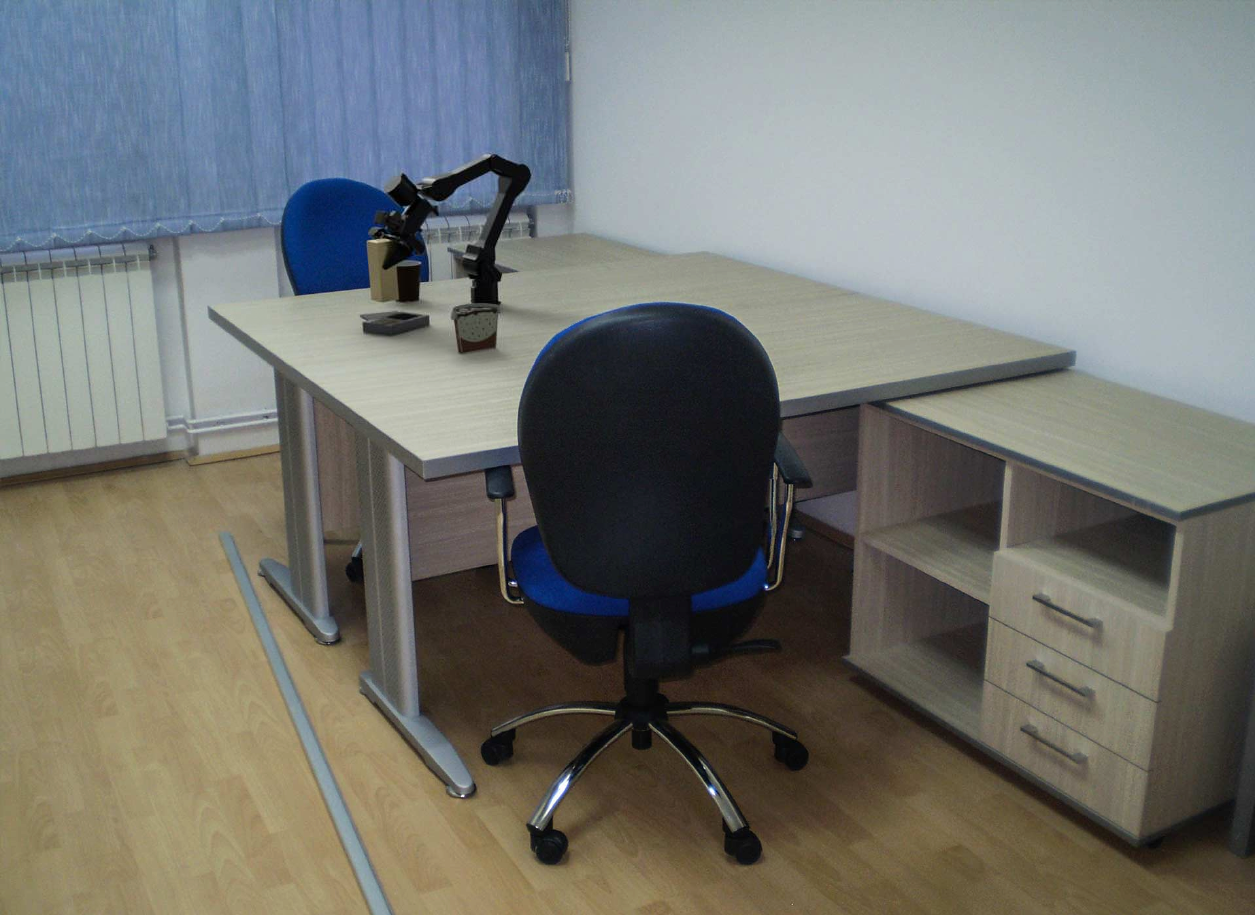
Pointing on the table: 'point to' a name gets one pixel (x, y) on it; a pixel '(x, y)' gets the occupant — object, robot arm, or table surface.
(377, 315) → the rubber pad
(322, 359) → the table surface
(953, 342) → the table surface
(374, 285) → the tan rectangular block
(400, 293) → the coffee mug
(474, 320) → the food container
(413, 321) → the grey tray
